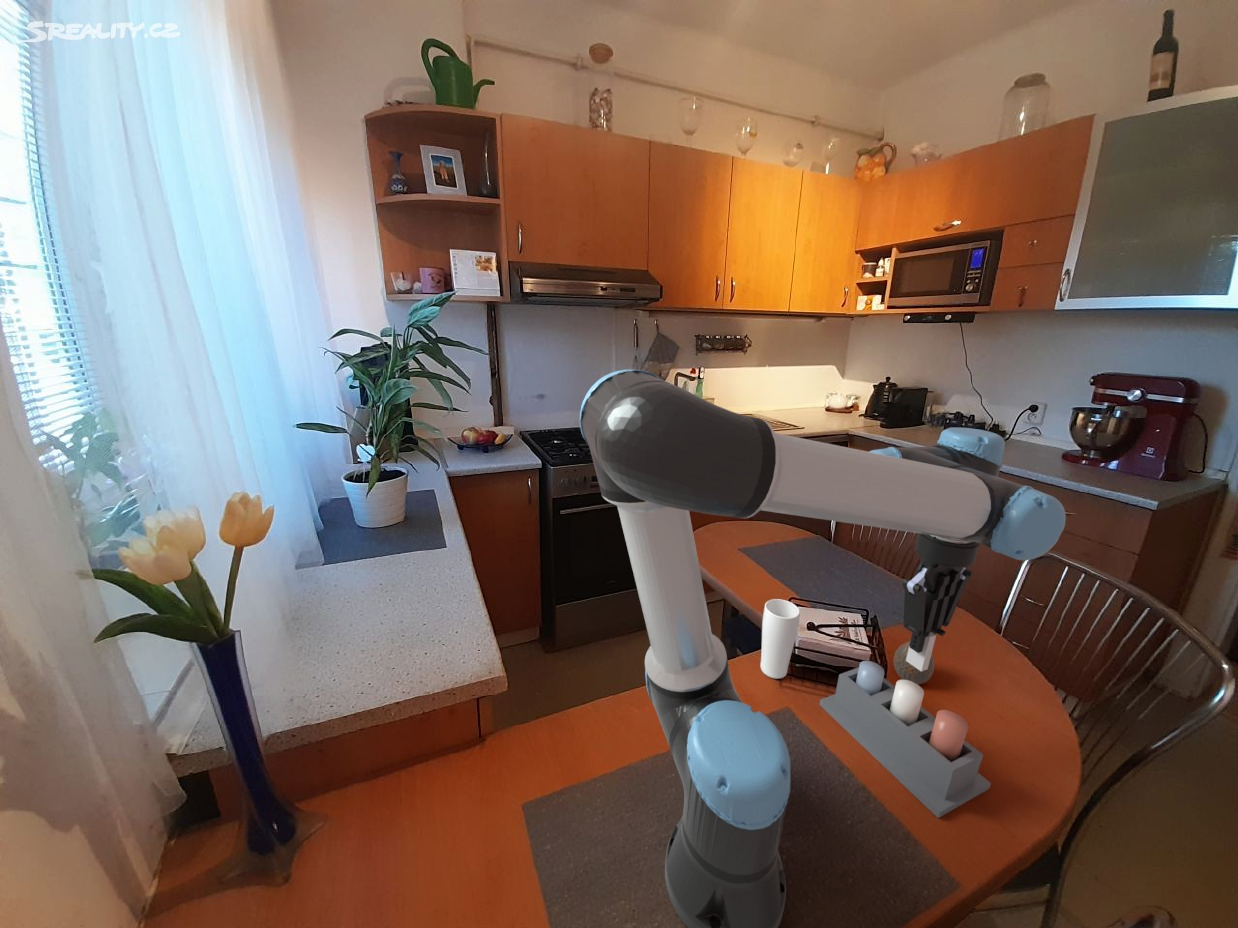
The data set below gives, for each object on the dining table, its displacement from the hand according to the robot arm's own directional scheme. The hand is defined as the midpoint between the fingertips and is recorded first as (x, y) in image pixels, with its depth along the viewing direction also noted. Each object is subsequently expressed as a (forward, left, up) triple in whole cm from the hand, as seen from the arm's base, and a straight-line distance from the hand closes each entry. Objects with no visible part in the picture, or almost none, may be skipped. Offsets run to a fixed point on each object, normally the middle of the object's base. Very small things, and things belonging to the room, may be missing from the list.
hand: (916, 664), depth 78 cm
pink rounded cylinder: (0, -7, -12) cm, 14 cm away
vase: (+17, +10, -17) cm, 26 cm away
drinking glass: (-8, +22, -17) cm, 29 cm away
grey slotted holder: (0, 0, -16) cm, 16 cm away
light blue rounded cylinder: (0, +7, -13) cm, 15 cm away
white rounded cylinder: (0, 0, -12) cm, 12 cm away
